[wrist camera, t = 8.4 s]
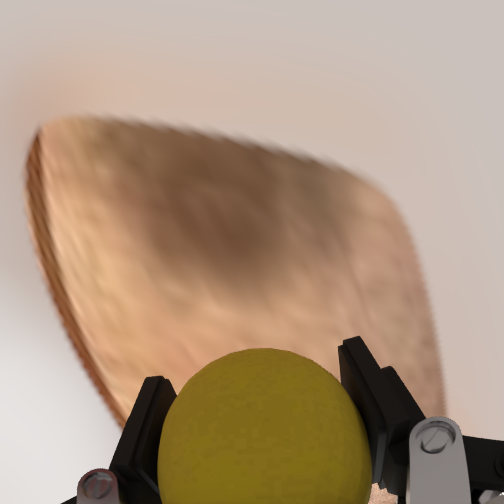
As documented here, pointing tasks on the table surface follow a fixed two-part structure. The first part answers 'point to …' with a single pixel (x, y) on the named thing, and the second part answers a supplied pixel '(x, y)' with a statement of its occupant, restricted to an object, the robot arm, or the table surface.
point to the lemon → (264, 435)
